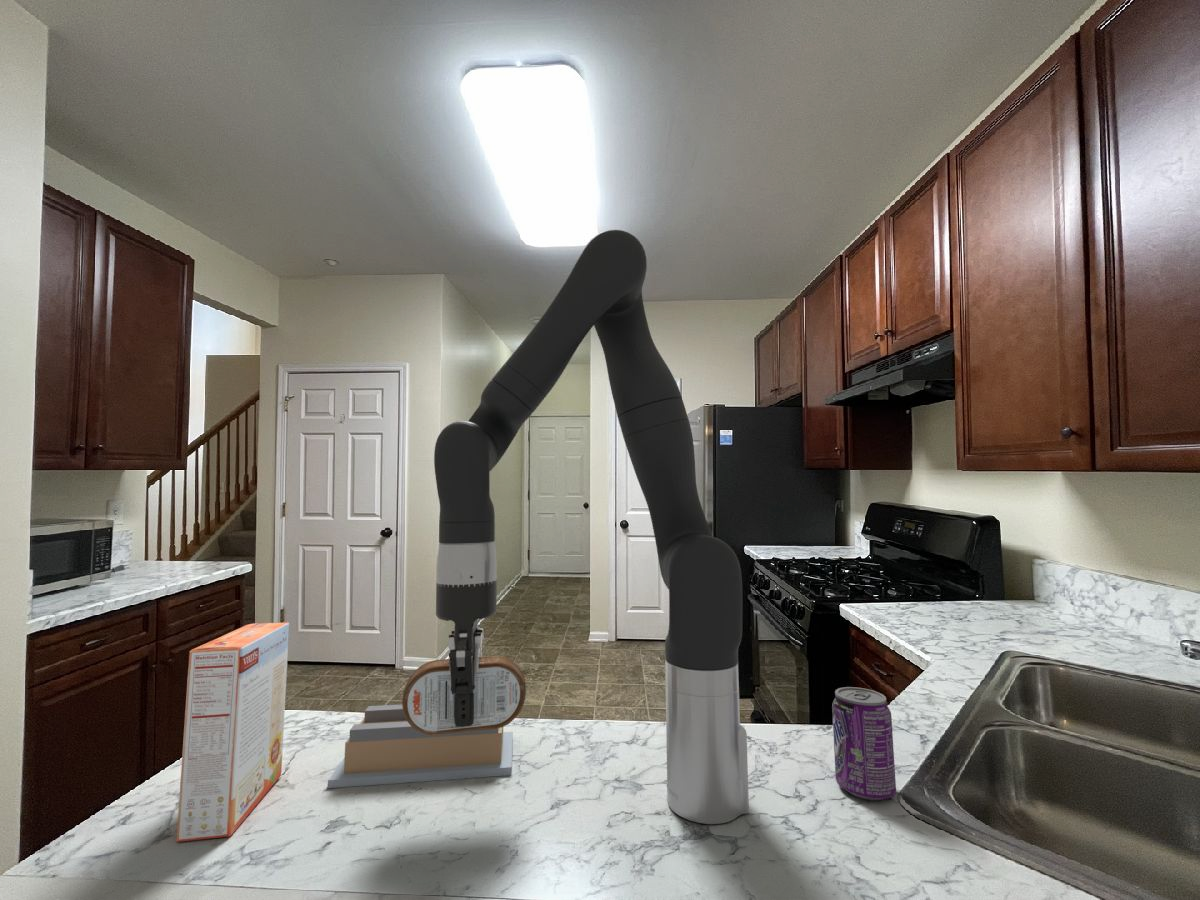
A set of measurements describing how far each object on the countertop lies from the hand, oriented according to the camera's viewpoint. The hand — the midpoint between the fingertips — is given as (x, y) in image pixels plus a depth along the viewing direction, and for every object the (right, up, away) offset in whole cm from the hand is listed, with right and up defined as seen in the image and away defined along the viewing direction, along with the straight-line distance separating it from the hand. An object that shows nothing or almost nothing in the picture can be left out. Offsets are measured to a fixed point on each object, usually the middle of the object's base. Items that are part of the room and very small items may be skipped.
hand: (465, 719), depth 65 cm
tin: (0, -1, 0) cm, 1 cm away
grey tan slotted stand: (-8, -12, +12) cm, 19 cm away
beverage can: (+52, -11, +3) cm, 53 cm away
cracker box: (-29, -11, 0) cm, 31 cm away
